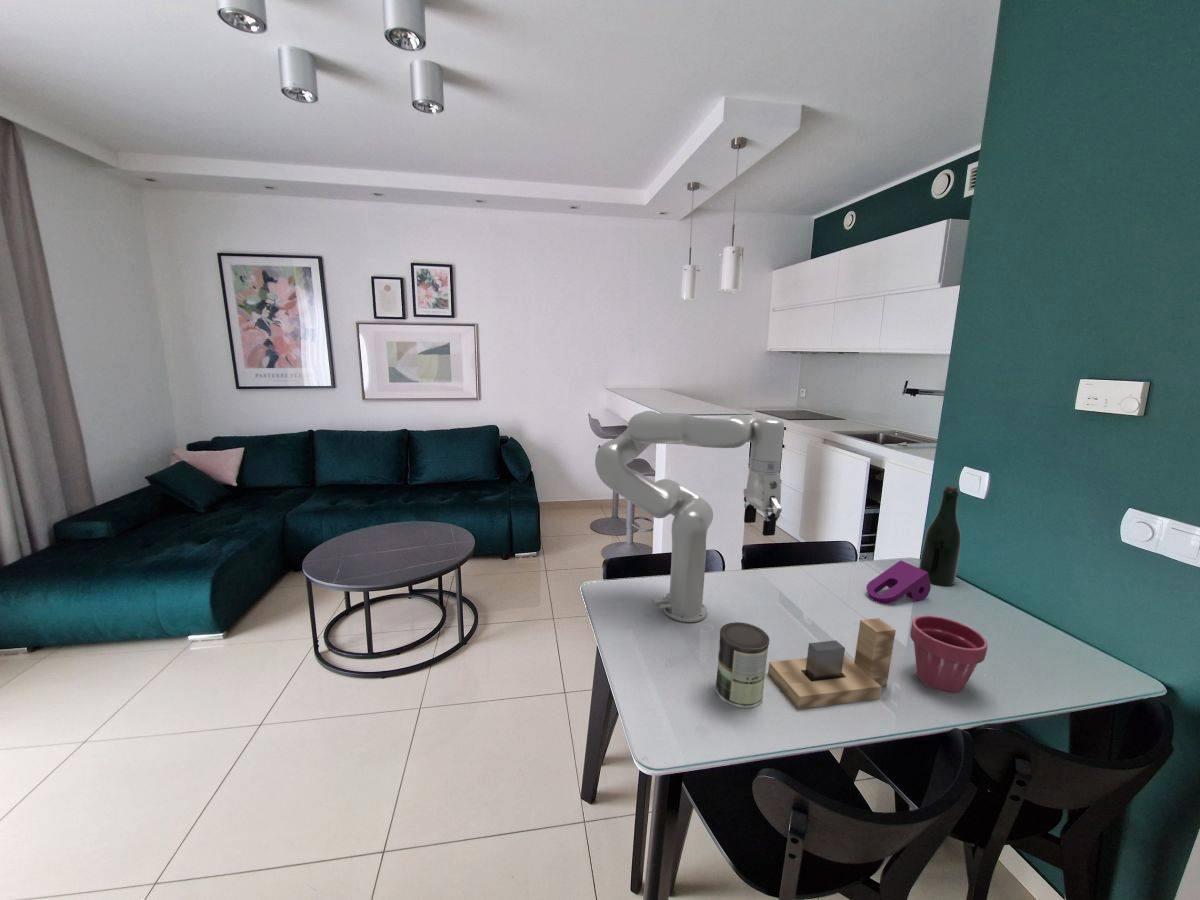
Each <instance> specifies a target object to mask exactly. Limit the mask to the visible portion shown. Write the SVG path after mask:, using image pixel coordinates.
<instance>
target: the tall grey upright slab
mask: <svg viewBox="0 0 1200 900" xmlns="http://www.w3.org/2000/svg"><path fill="white" fill-rule="evenodd" d="M845 652H846V648H845V646H843V644H841V643H840V642H838V641H837V640H828V641H826V640H825V641H815V642H810V643H808V646H807V655H806V658H807V662H806V671H805V676H806V677H807V678H808V679H809V680H810V681H811V682H812V681H820V680H829V679H837V678H841V674H842V666H843V659H844V654H845Z"/></svg>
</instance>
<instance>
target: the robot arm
mask: <svg viewBox="0 0 1200 900" xmlns="http://www.w3.org/2000/svg"><path fill="white" fill-rule="evenodd" d="M784 431H785V422H784V421H783V420H782V419H779V418H773V417H755V416H750V415H745V414H734V415H731V416H730V417H728V418H710V417H709V418H708V417H706V418H703V417H697V416H693V415H691V414H689V413H685V412H677V413H676V412H675V413H674V412H670V413H669V412H667V413H666V412H665V413H664V412H663V413H662V412H660V413H659V412H656V411H653V410H644V411H642V412H639V413H635V414H634V415H633V416H632V417H630V419H629V420H628V423H627V427H626V429H625V430H624V431H623V432H622V433H620V434H619V436H617V437H616V438H613V439H610V440H608V441H606V442H604V443H603V444H601V445H600V447H599V448H598V450H597V451H596V454H595V458H594V466H595V470H596V474H597V476H598V477H599V479H600V480H601V483H603V484H604V485H605V486H606V487H608V488H609V489H611V490H612V491H614V492H615V493H616V494H618V495H620V496H621V497H623V498H625V499H626V500H627V501H629V503H632V504H633V505H635V506H636V507H638V508H639V509H641V510H642V511H643V512H644V513H646V514H648V515H649V516H651V517H653V518H656V519H664V518H666V517H668V516H669V515H672V517H673V519H672V522H671V523H672V524H671V563H670V565H671V566H670V577H669V578H670V580H669V591H668V593H666V595H665V597H663V598H653V599H652V606H653V607H656V606H657V607H659V609H660V610H662V611H663V612H664V614H665V615H666V616H667V617H669V618H671V619H673V620H675V621H678V622H681V623H695V622H696V623H697V622H700V621H703V620H704V619H706V617H707V616H708V609H707V607H706V605H705V604H704V603H703V600H704V599H703V598H704V587H705V585H704V584H705V571H706V560H707V559H706V558H707V535H708V530H709V527H710V526H711V524H712V522H713V520H714V511H713V508H712V506H711V505H710V503H708V501H707V500H705V499H704V498H702V497H701V496H699V495H697V493H695V492H693V491H692V490H690V489H688V488H687V487H686V486H683V485H681V484H680V483H678V482H676V481H674V480H671V479H669V478H667V479H666V478H665V479H664V478H663V479H660V480H657V481H653V480H652V479H650V478H648V477H647V476H645V475H644V474H643V473H641V472H639V471H637V470H634V469H631V468H630V467H628V466H627V465H628V464H630V463H632V462H633V461H634V460H635V459H636V458H638V457H639V456H641V454H642V453H643V452H644V451H645V450H646V449H648V447H649V446H650V445H651V444H661V445H685V446H691V447H701V448H708V449H709V448H712V449H714V448H715V449H718V448H719V449H737V448H740V447H742V446H744V445H745V444H746V443H751V446H750V457H749V459H750V460H749V467H748V468H749V469H748V470H749V472H748V475H747V482H746V488H744V489H743V496H744V498H743V500H744V501H743V502H744V505H743V506H744V513H743V514H744V516H743V522H744V523H745V524H748V523H749V524H752V523H753V524H754V523H756V520H757V518H756V517H757V510H758V511H761V512H762V513H763V515H764V520H763V524H762V525H763V527H762V536H764V537H767V536H768V537H769V536H775V533H776V525H777V522H778V519H779V518H780V516H781V513H782V510H783V508H782V507H781V498H782V497H781V496H782V479H781V473H780V470H781V464H782V462H781V461H782V454H783V453H782V451H783V443H784V433H785V432H784ZM769 513H770V514H769Z"/></svg>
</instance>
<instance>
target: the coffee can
mask: <svg viewBox="0 0 1200 900" xmlns="http://www.w3.org/2000/svg"><path fill="white" fill-rule="evenodd" d="M769 645H770V637H769V635H768V634H767V632H765V630H763V629H761V628H760V627H758V626H756V625H753V624H750V623H745V622H735V621H734V622H728V623H724V625H723V626H721V628H720V629H719V646H718V656H717V667H716V668H717V670H716V679H715V681H716V682H715V686H714V687H715V692H716V694H717V695H718V697H719V698H720V699H721V700H722V701H723V702H725V703H727V704H728V705H729V706H732V707H734V708H735V707H736V708H740V709H752V708H755V707H758V706H759V705H760V704H762V702H763V699H764V689H765V688H764V687H765V679H766V678H765V677H766V669H767V660H768V650H769Z"/></svg>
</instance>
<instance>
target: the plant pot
mask: <svg viewBox="0 0 1200 900" xmlns="http://www.w3.org/2000/svg"><path fill="white" fill-rule="evenodd" d="M909 634H910V635H909V636H910V639H911V640H912V642H913V645H914V646H913V647H914V656H915V668H916V675H917V677H918V678H919V680H920V681H921V682H922V683H924V684H925V685H927V686H928V687H931V688H932V689H935V690H937V691H940V692H943V693H948V694H958V693H961V692H962V691H964V688H965V687H966V685H967V683H968V682H969V680H970V678H971V676H972V675H973V673H974V671H975V669H976V668H977V665H978V664H980V663H982V662H983V661H985V658H986V656H987V651H988V646H989V645H988V641H987V638H985V637H984V636H983V635H982V634H981V633H980V632H978V630H975V629H974V628H972V627H970V626H968V625H966V624H964V623H961V622H959V621H956V620H954V619H950V618H946V617H943V616H936V615H919V616H916V617H914V618H913V619H912V622H911V625H910V632H909Z"/></svg>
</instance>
